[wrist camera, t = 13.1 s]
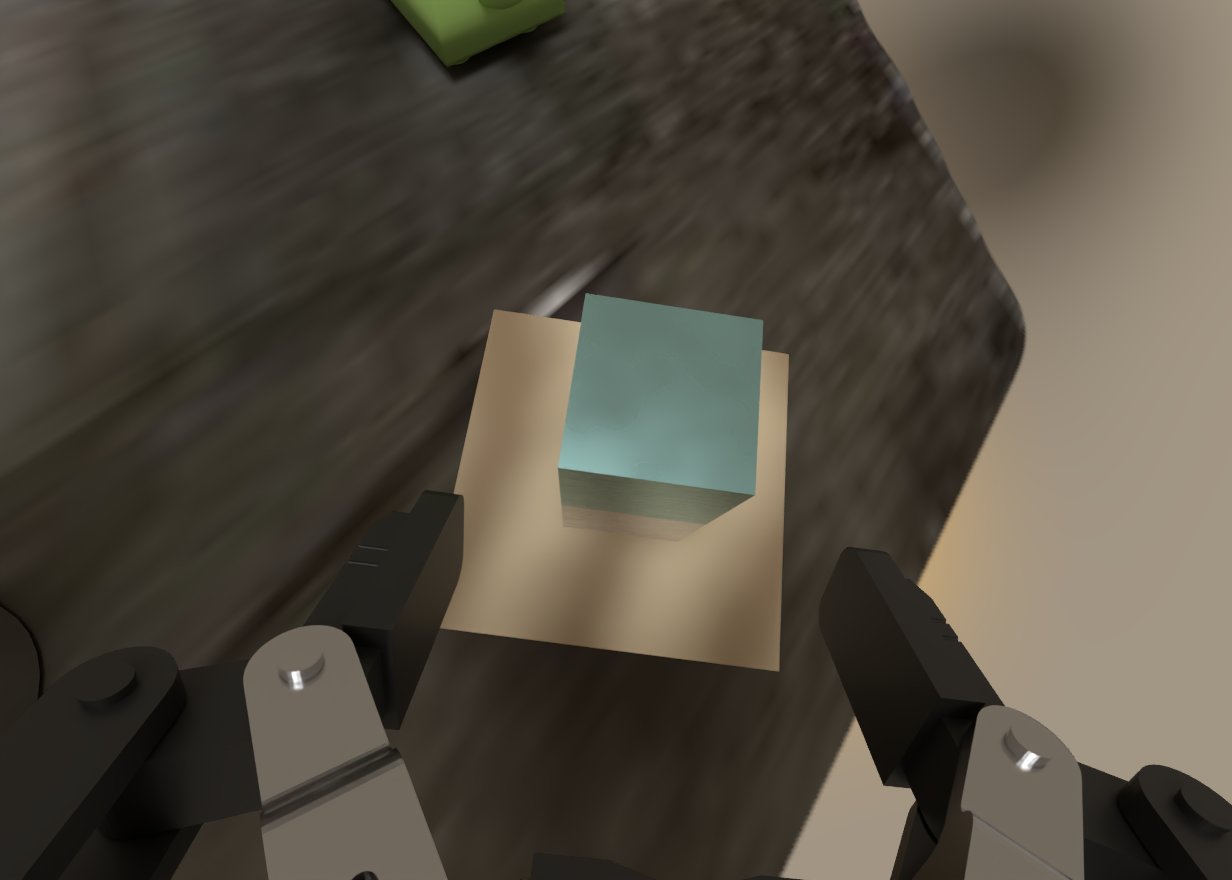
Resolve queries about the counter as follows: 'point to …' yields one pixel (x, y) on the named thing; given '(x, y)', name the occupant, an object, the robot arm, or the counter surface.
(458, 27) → the kettle
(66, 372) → the counter surface
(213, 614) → the counter surface
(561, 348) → the stand
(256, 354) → the counter surface
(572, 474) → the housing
